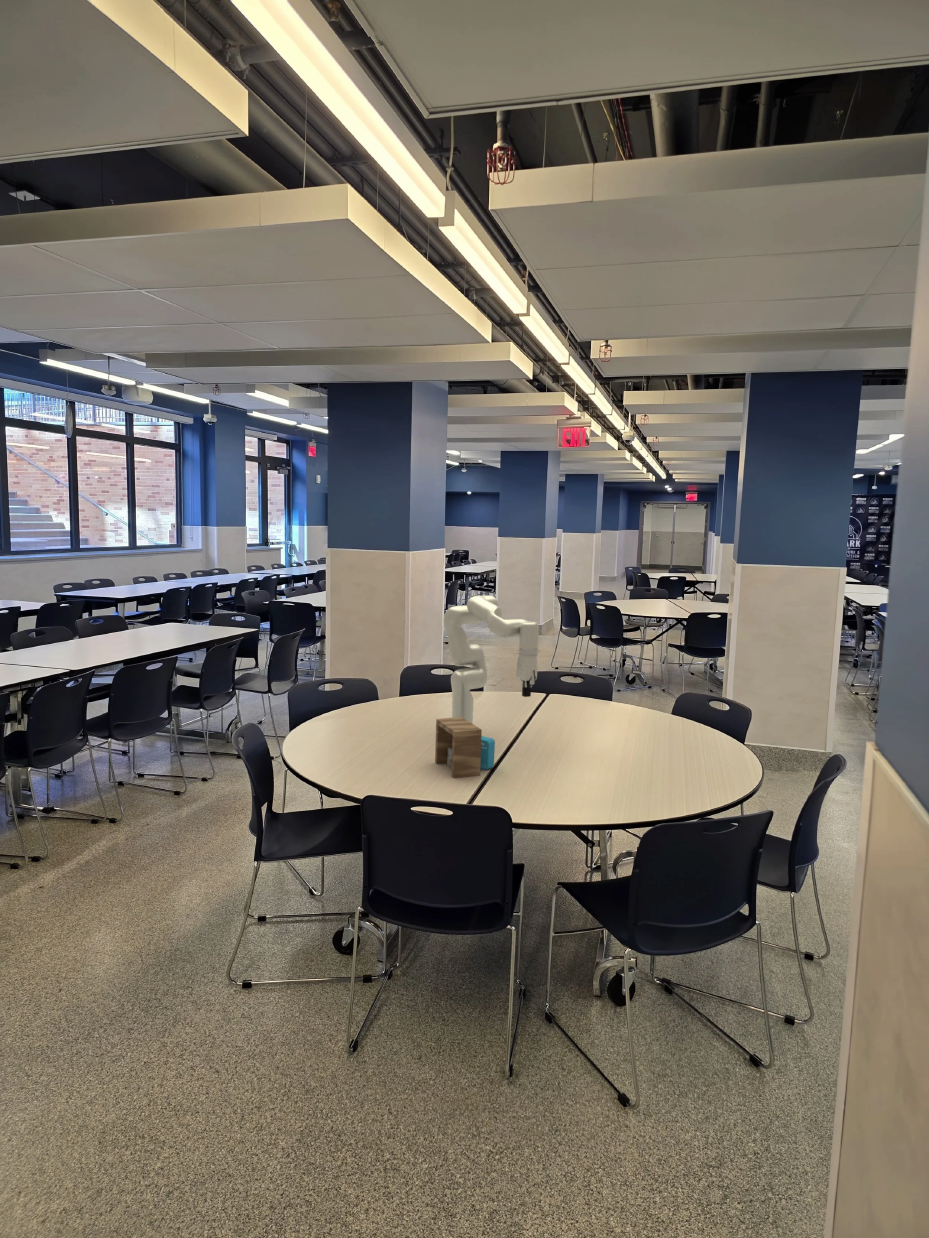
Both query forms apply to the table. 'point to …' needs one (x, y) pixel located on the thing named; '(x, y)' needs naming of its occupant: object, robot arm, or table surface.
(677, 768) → the table surface
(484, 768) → the data package
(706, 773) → the table surface
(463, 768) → the overhang shelf
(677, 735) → the table surface
